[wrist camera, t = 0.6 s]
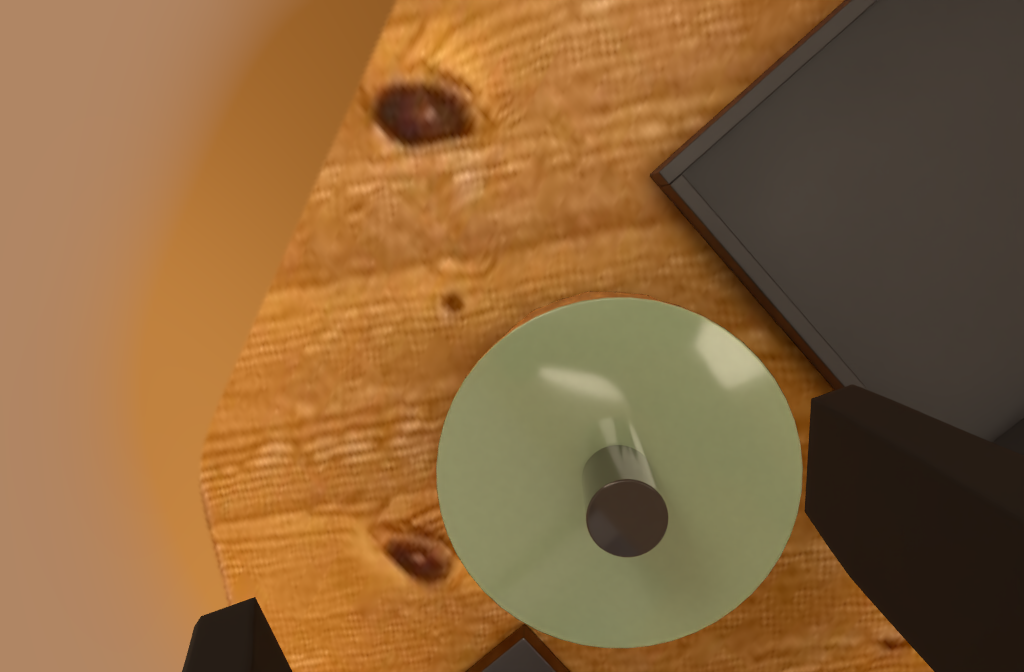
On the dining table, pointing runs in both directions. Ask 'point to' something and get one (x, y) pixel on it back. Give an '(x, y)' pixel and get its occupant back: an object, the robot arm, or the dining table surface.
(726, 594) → the lid
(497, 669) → the panel
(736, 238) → the tray
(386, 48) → the dining table surface
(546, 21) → the dining table surface
